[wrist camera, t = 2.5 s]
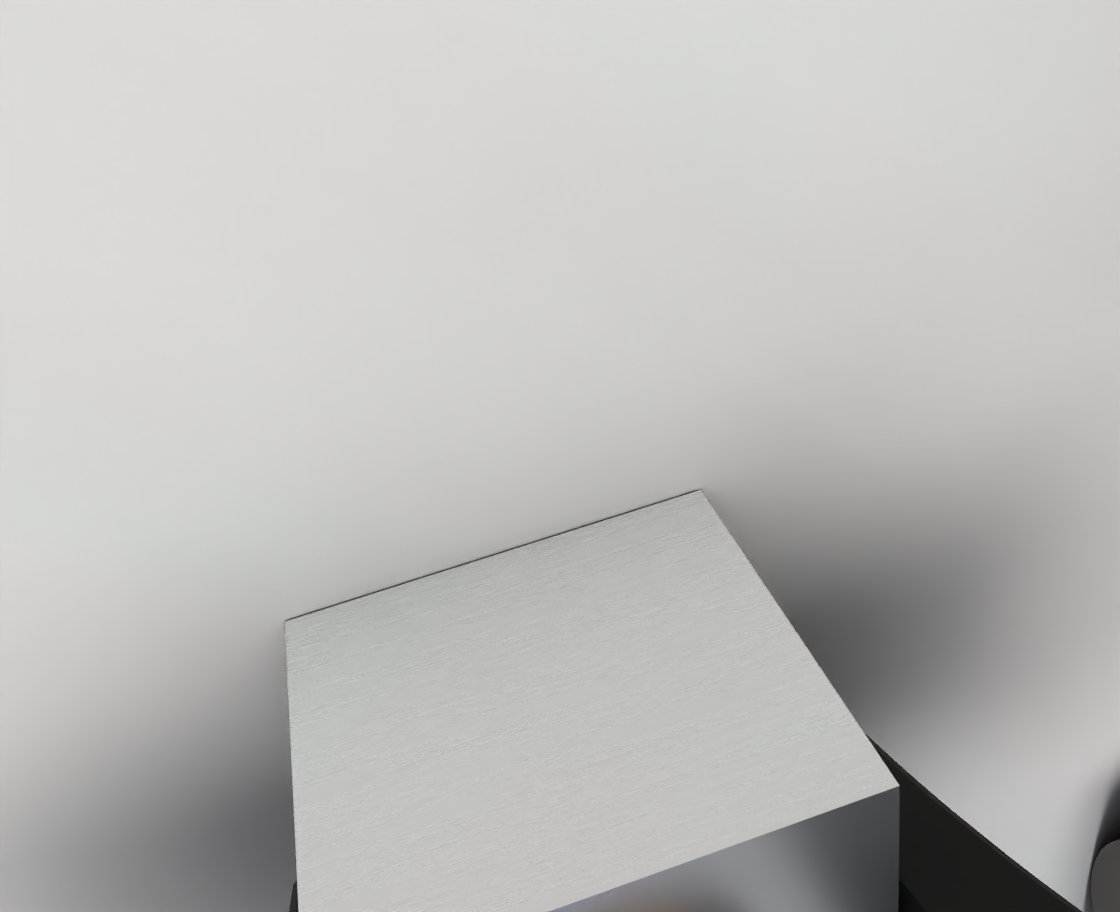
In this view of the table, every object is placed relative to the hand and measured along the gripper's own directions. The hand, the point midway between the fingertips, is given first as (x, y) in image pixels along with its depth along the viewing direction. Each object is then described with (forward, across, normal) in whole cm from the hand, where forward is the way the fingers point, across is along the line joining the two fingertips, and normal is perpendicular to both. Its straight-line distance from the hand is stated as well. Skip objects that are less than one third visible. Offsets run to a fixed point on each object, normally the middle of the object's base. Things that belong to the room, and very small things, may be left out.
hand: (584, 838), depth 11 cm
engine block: (+1, 0, 0) cm, 1 cm away
